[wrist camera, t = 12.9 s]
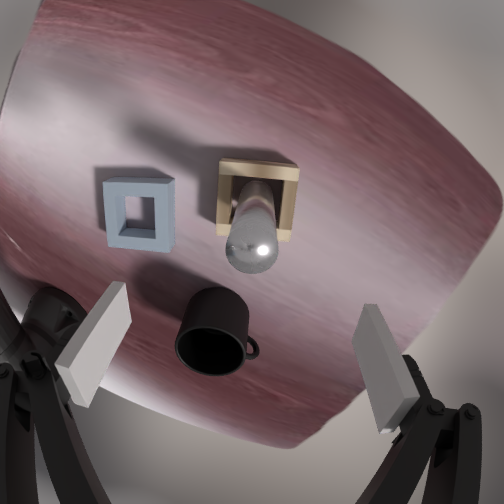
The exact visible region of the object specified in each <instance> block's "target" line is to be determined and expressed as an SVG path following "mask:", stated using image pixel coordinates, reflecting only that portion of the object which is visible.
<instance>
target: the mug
mask: <svg viewBox="0 0 504 504" xmlns="http://www.w3.org/2000/svg"><path fill="white" fill-rule="evenodd" d="M248 325H249V310H248V307H247V305H246V303H245V302H244V301H243V299H242V298H241V297H240V296H238V295H237V294H236V293H234V292H232V291H230V290H227V289H224V288H207V289H204V290H202V291H200V292H198V293H196V294H195V295H194V296H193V297H192V298H191V300H190V302H189V304H188V307H187V310H186V312H185V315H184V318H183V321H182V324H181V326H180V329H179V332H178V335H177V338H176V341H175V351H176V354H177V356H178V358H179V360H180V361H181V362H182V363H183V364H184V365H185V366H186V367H188V368H189V369H191V370H193V371H195V372H197V373H200V374H203V375H208V376H224V375H228V374H231V373H233V372H235V371H237V370H238V369H239V368H240V367H241V366H242V365H243V364H244V362H245V359H249V360H251V359H255V358H256V357H257V356H258V355H259V347H258V345H257V343H256V341H255V340H254V339H253V338H251V337H250V336H248ZM247 342H249V343H250V344H251V345H252V347H253V350H254V351H253V353H252V354H248V353H247V352H246V351H247Z"/></svg>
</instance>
